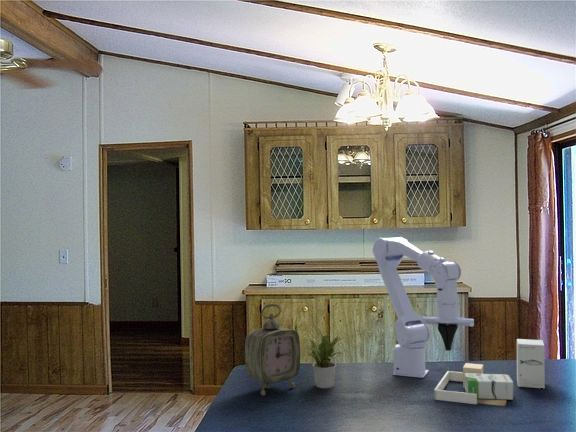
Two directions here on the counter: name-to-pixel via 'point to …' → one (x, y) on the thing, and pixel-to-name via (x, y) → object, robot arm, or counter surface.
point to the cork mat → (493, 401)
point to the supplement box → (530, 363)
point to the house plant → (324, 361)
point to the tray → (452, 395)
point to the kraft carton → (471, 370)
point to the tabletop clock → (272, 353)
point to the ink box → (489, 386)
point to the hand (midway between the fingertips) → (448, 349)
